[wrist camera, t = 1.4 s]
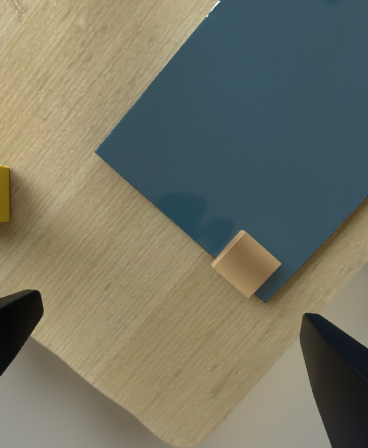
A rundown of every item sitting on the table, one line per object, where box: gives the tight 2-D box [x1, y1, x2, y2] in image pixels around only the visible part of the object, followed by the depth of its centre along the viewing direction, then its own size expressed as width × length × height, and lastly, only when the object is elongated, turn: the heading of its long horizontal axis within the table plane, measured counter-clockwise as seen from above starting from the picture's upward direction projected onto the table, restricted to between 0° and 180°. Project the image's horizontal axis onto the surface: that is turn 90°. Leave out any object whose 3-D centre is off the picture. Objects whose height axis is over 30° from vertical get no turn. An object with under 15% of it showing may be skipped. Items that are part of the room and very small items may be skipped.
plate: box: [95, 0, 368, 303], centre depth 20 cm, size 38×20×1 cm, turn 138°
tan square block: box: [211, 230, 281, 299], centre depth 21 cm, size 4×4×2 cm
